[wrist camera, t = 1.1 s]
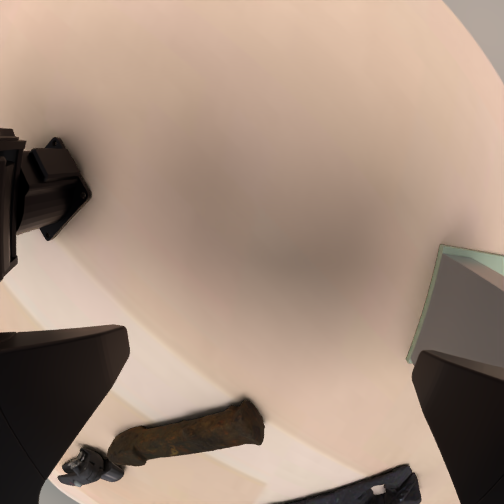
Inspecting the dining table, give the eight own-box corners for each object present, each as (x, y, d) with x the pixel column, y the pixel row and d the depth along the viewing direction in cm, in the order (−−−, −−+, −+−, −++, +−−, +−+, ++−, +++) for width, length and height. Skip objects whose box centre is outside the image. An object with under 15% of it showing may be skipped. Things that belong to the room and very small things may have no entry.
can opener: (93, 437, 30) (75, 465, 24) (133, 469, 31) (119, 498, 25) (51, 454, 34) (36, 474, 28) (82, 479, 35) (69, 500, 29)
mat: (405, 359, 22) (408, 363, 22) (440, 244, 20) (443, 246, 19) (510, 355, 21) (513, 358, 21) (542, 263, 19) (546, 265, 18)
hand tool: (249, 391, 25) (243, 428, 20) (268, 419, 25) (265, 456, 21) (103, 419, 28) (85, 445, 24) (123, 442, 29) (108, 468, 25)
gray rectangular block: (410, 358, 21) (468, 467, 10) (442, 253, 19) (552, 326, 8) (440, 358, 21) (504, 456, 10) (473, 258, 19) (579, 324, 7)
